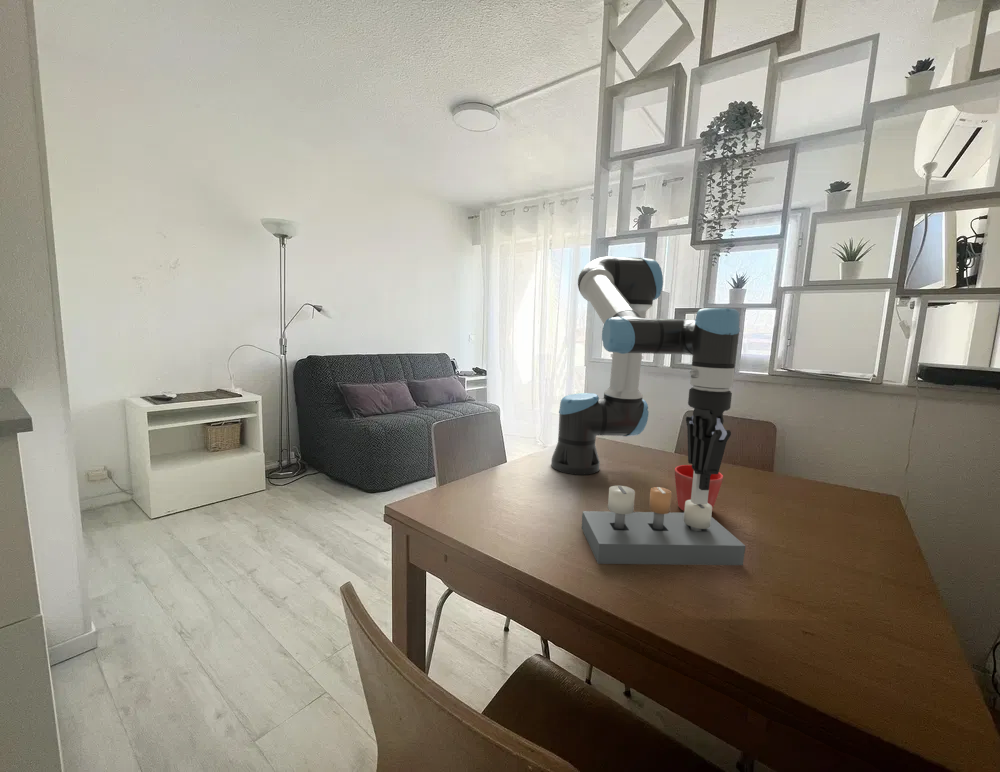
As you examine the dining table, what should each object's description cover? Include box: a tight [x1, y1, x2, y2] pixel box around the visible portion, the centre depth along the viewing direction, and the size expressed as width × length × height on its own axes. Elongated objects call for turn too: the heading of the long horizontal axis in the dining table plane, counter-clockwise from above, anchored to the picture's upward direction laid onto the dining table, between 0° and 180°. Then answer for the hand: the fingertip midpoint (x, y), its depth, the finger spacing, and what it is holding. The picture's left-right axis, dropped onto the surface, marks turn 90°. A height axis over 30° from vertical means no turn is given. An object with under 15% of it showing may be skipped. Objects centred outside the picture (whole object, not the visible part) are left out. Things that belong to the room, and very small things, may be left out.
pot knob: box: [648, 486, 673, 529], centre depth 86 cm, size 4×4×8 cm
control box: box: [581, 510, 746, 566], centre depth 86 cm, size 14×28×4 cm, turn 92°
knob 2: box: [683, 500, 713, 531], centre depth 86 cm, size 5×5×8 cm
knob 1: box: [607, 485, 636, 529], centre depth 85 cm, size 5×5×8 cm
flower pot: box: [674, 464, 724, 512], centre depth 104 cm, size 11×11×10 cm
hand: (698, 502), depth 86 cm, fingers closed
